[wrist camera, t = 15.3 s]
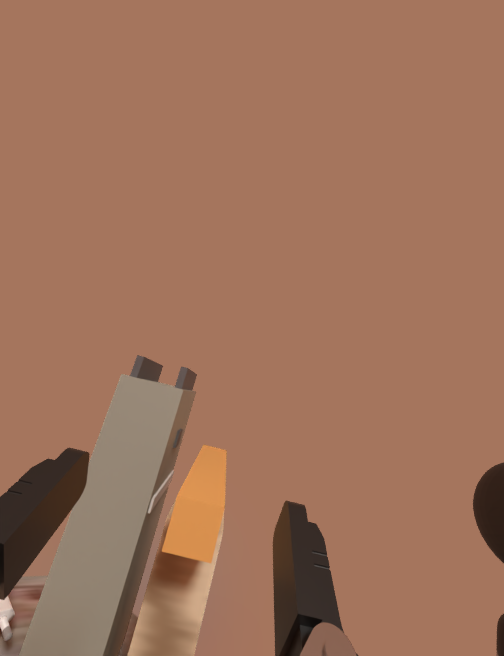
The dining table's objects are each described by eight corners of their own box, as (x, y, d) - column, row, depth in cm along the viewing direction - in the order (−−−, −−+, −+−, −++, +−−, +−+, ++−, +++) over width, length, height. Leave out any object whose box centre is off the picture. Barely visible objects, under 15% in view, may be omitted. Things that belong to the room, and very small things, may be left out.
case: (125, 643, 36) (202, 376, 44) (69, 778, 23) (192, 368, 32) (68, 629, 35) (157, 364, 44) (-19, 758, 23) (129, 352, 31)
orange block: (220, 475, 40) (226, 450, 41) (211, 563, 19) (224, 507, 20) (196, 469, 40) (203, 444, 41) (161, 551, 19) (177, 495, 20)
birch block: (172, 701, 30) (224, 487, 36) (138, 889, 19) (223, 531, 24) (127, 691, 30) (186, 478, 36) (65, 874, 19) (166, 517, 24)
